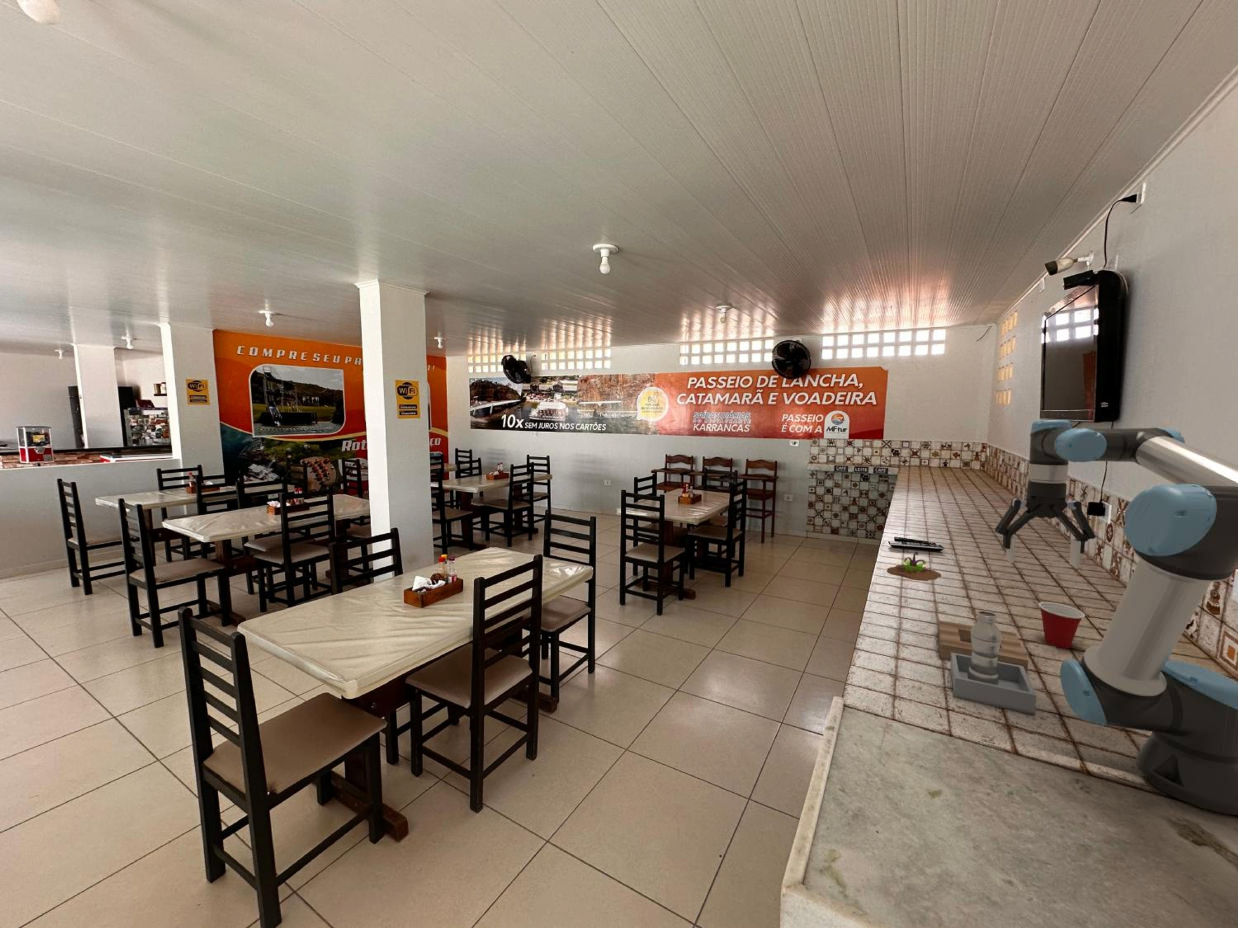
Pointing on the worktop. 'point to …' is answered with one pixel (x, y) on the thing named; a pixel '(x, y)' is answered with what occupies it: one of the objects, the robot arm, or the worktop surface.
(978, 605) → the worktop surface
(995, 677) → the plastic bottle
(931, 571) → the plant
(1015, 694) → the slate tray
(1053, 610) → the plastic cup
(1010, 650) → the walnut frame
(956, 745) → the worktop surface
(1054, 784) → the worktop surface
